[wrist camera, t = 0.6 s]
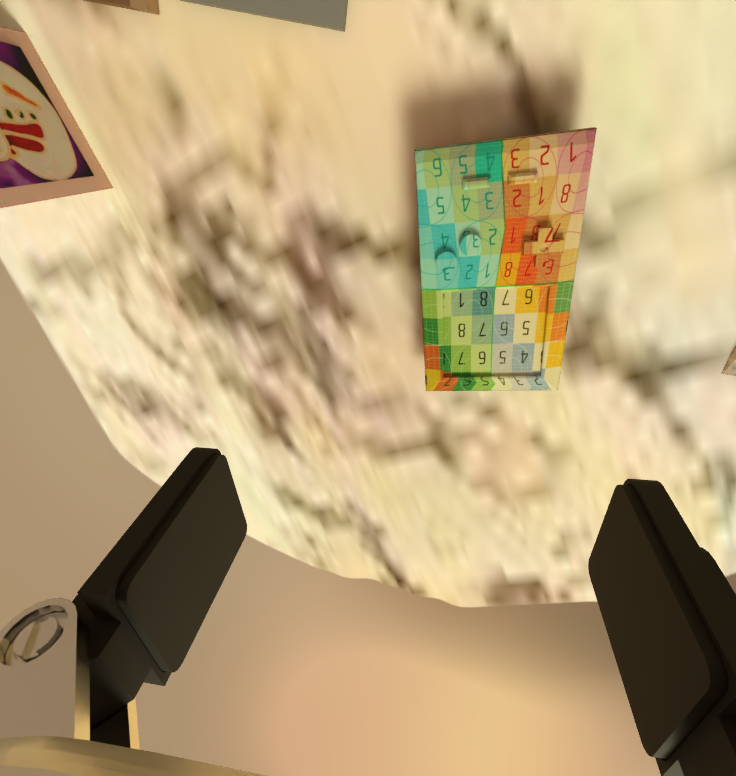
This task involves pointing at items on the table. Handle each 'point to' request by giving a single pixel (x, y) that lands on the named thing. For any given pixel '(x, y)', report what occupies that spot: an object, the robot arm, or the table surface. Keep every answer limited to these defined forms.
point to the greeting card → (38, 132)
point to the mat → (290, 10)
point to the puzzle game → (500, 257)
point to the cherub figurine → (731, 365)
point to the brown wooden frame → (133, 4)
